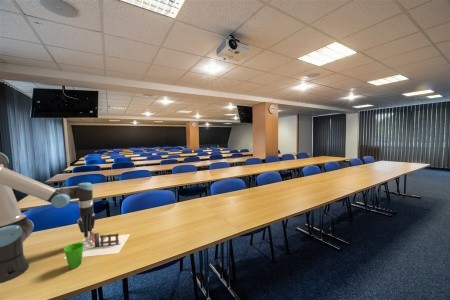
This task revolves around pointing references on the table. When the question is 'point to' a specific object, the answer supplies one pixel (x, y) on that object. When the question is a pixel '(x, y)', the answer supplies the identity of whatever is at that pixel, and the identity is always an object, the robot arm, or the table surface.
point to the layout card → (91, 250)
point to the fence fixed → (105, 241)
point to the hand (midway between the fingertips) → (87, 241)
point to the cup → (74, 254)
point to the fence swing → (92, 237)
